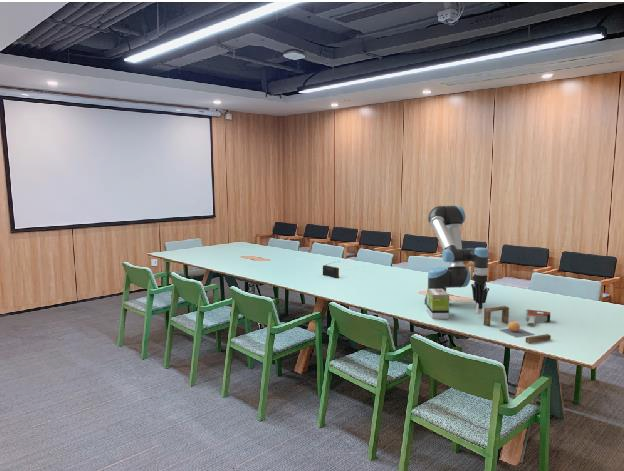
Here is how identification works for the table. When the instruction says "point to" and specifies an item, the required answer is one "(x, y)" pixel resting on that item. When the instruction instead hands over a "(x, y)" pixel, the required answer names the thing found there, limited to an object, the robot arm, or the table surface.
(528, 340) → the brown wooden bar
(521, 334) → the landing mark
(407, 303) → the table surface
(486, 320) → the bridge
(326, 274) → the radio
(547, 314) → the tape dispenser
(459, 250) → the robot arm
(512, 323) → the ball
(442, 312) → the tea box
